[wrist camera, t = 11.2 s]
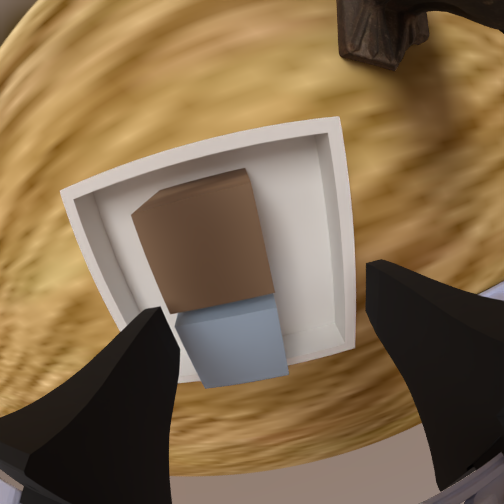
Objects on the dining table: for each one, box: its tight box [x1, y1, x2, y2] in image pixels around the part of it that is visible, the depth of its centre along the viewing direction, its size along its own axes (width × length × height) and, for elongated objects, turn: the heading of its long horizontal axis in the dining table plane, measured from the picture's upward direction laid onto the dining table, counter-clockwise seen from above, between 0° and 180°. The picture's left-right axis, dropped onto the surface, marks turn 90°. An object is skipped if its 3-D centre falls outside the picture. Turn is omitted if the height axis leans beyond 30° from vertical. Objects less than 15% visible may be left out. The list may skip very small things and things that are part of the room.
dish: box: [60, 116, 356, 383], centre depth 13 cm, size 12×12×2 cm
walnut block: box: [131, 168, 275, 314], centre depth 11 cm, size 4×4×4 cm
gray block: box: [174, 293, 289, 389], centre depth 13 cm, size 4×4×4 cm
